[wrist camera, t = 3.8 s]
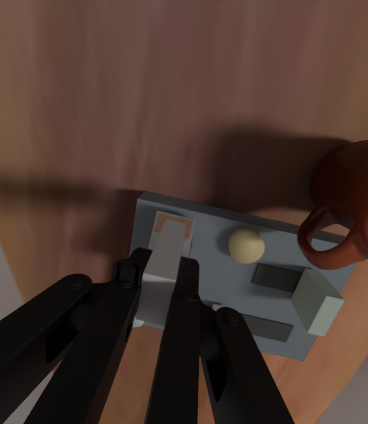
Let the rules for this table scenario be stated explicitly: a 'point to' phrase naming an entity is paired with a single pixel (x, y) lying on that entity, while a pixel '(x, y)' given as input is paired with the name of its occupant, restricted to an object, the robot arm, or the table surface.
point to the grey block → (316, 302)
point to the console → (245, 267)
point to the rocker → (163, 216)
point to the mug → (339, 206)
